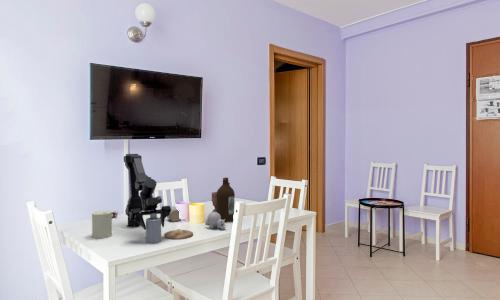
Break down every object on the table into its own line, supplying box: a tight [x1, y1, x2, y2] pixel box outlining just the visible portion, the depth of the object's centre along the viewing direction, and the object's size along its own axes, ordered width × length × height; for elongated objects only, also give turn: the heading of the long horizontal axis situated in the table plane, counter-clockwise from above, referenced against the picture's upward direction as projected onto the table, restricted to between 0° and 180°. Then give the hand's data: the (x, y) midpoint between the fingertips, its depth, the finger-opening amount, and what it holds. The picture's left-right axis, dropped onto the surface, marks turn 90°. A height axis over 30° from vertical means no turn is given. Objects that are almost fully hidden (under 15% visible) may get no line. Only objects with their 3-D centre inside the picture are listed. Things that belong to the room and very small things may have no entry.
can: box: [91, 210, 113, 239], centre depth 176 cm, size 9×9×12 cm
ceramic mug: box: [166, 205, 180, 222], centre depth 210 cm, size 11×8×8 cm
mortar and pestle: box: [211, 181, 231, 212], centre depth 230 cm, size 12×9×20 cm
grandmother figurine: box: [112, 210, 119, 218], centre depth 214 cm, size 8×4×13 cm
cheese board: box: [163, 228, 194, 240], centre depth 178 cm, size 14×14×4 cm
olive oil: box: [216, 177, 236, 223], centre depth 210 cm, size 11×11×25 cm
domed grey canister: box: [145, 213, 162, 244], centre depth 168 cm, size 7×7×13 cm
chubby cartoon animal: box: [204, 211, 227, 231], centre depth 191 cm, size 7×12×8 cm, turn 55°
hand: (154, 228), depth 166 cm, fingers open, 8 cm apart
